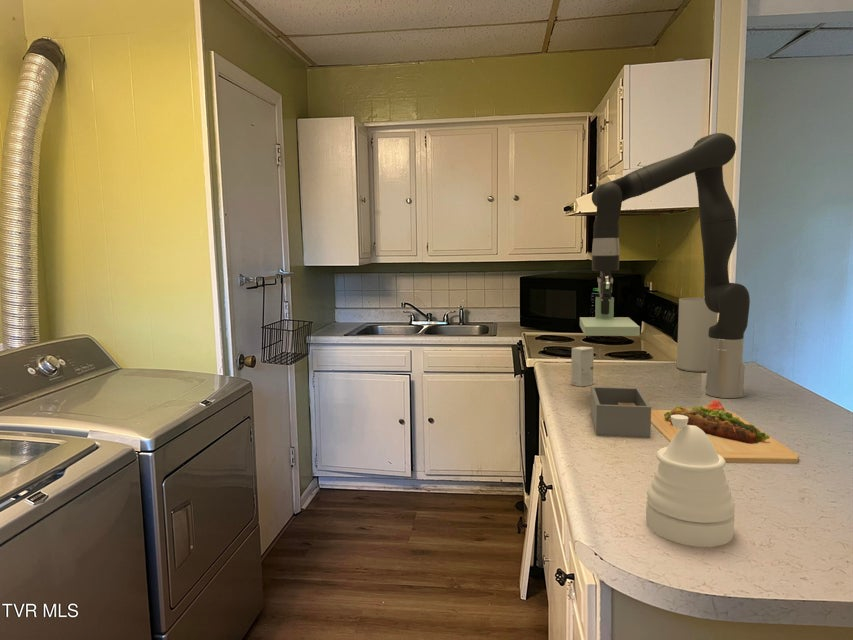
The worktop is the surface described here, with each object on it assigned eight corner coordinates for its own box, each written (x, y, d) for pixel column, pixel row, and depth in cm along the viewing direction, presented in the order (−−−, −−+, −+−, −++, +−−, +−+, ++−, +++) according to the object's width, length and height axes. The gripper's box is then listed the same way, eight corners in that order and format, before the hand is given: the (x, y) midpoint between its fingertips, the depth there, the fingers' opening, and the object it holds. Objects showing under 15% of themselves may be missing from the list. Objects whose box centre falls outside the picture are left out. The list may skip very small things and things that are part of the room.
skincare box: (580, 387, 186) (581, 349, 185) (570, 384, 190) (570, 347, 188) (594, 384, 190) (594, 347, 188) (583, 382, 193) (583, 345, 192)
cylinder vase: (673, 370, 208) (675, 300, 205) (680, 364, 219) (683, 297, 215) (711, 374, 201) (714, 301, 198) (717, 367, 211) (720, 298, 208)
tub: (638, 418, 152) (639, 388, 151) (650, 441, 135) (651, 407, 134) (590, 416, 155) (590, 386, 154) (596, 438, 137) (596, 405, 136)
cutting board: (639, 416, 156) (639, 388, 156) (730, 416, 155) (731, 388, 154) (685, 465, 122) (687, 430, 121) (804, 466, 120) (806, 431, 119)
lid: (628, 325, 172) (628, 296, 171) (639, 335, 153) (640, 303, 152) (579, 325, 175) (579, 297, 174) (584, 335, 155) (585, 304, 154)
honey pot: (645, 539, 91) (649, 426, 88) (646, 504, 103) (649, 404, 100) (739, 553, 86) (745, 434, 84) (728, 515, 98) (733, 410, 96)
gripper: (622, 254, 162) (621, 316, 164) (616, 253, 175) (615, 311, 177) (594, 254, 163) (593, 316, 166) (590, 253, 177) (589, 311, 179)
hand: (604, 313), depth 171 cm, fingers closed on lid, 1 cm apart
